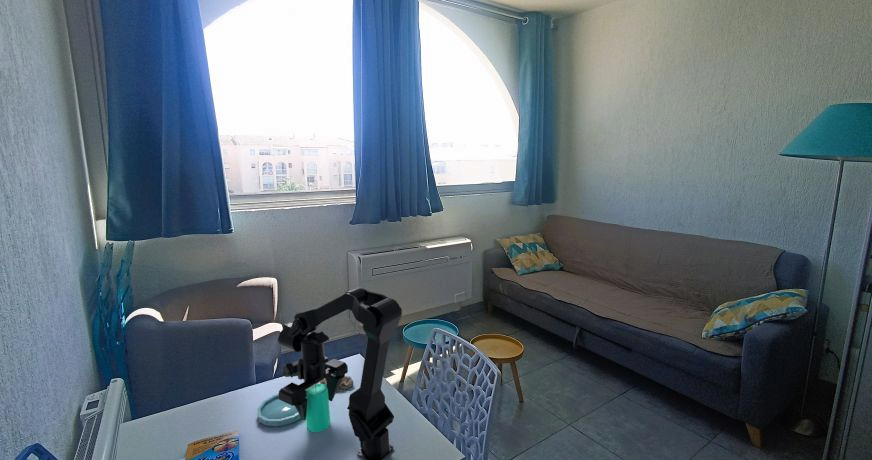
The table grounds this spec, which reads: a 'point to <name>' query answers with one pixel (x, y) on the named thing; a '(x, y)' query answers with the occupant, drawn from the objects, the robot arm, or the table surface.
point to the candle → (317, 408)
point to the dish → (276, 412)
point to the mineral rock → (343, 385)
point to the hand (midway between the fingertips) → (317, 409)
